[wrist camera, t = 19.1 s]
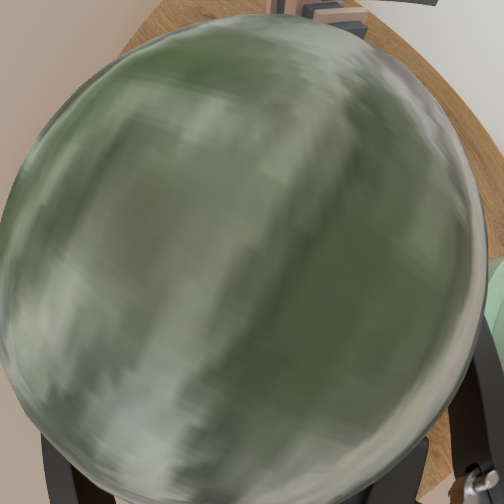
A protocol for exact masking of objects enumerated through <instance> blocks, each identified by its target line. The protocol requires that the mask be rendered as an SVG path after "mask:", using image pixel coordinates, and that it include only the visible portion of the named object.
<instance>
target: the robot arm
mask: <svg viewBox="0 0 504 504" xmlns="http://www.w3.org/2000/svg"><path fill="white" fill-rule="evenodd" d="M448 413H449V423H450V434H451V450H452V464H453V470H454V476H455V479H456V481H455V482H454V483H453V485H452V487H451V488H450V490H449V492H448V497H449V498H450V504H504V373H503V369H502V366H501V362H500V359H499V355H498V352H497V349H496V346H495V343H494V340H493V337H492V334H491V331H490V328H489V326H488V323H487V320H486V317H485V315H484V317H483V322H482V326H481V330H480V334H479V337H478V341H477V344H476V348H475V351H474V354H473V356H472V359H471V362H470V364H469V367H468V370H467V372H466V375H465V377H464V379H463V381H462V383H461V385H460V387H459V389H458V391H457V392H456V394H455V396H454V398H453V399H452V401H451V403H450V405H449V406H448ZM41 443H42V454H43V463H44V471H45V477H46V484H47V489H48V494H49V499H50V504H116V501H115V498H114V495H112V494H110V493H108V492H106V491H104V490H103V489H101V488H99V487H98V486H96V485H95V484H94V483H93V482H91V481H90V480H89V479H88V478H87V477H86V476H84V475H83V474H82V473H81V472H80V471H79V470H78V469H77V468H75V467H74V466H73V465H72V464H71V463H70V462H69V461H68V460H67V459H66V458H65V457H64V456H63V455H62V454H61V453H60V452H59V451H58V450H57V449H56V448H55V447H54V446H53V445H52V444H51V443H50V442H49V441H48V440H47V439H46V438H45V436H44V435H43V434H42V433H41ZM428 447H429V440H428V438H427V437H426V435H425V437H424V438H423V439H422V440H421V441H420V442H419V443H418V444H417V445H416V446H415V447H414V448H413V449H412V450H411V451H410V453H408V454H407V455H406V456H405V457H404V458H403V459H402V460H401V461H400V462H399V463H398V464H397V465H395V466H394V467H393V468H392V469H391V470H390V471H388V472H387V473H386V474H385V475H384V476H382V477H381V478H379V479H378V480H377V481H375V482H374V483H372V484H371V485H369V486H368V487H366V488H365V489H363V490H362V491H360V492H358V493H357V494H355V495H353V496H352V497H350V498H348V499H346V500H345V501H343V502H341V503H339V504H421V503H419V502H418V501H416V500H415V499H416V496H417V492H418V489H419V485H420V482H421V478H422V474H423V470H424V466H425V462H426V458H427V453H428Z"/></svg>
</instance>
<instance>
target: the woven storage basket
mask: <svg viewBox="0 0 504 504" xmlns="http://www.w3.org/2000/svg"><path fill="white" fill-rule="evenodd" d="M343 1H344V0H267V6H266V14H292V15H296V16H300V17H303V18H307V19H311V20H314V21H317V22H321V23H324V24H327V25H330V26H333V27H336V28H339V29H342V30H345V31H348V32H350V33H352V34H354V35H356V36H358V37H359V38H361V39H364V37H365V34H366V32H367V29H368V28H367V27H366V26H365V25H364V24H365V22H366V19H367V16H368V14H369V12H368V11H367V10H366V9H365V8H364V7H351V8H344V7H343V6H342V4H343ZM381 1H397V2H408V3H417V4H424V5H431V6H435V5H436V4H437V2H438V0H381Z"/></svg>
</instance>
